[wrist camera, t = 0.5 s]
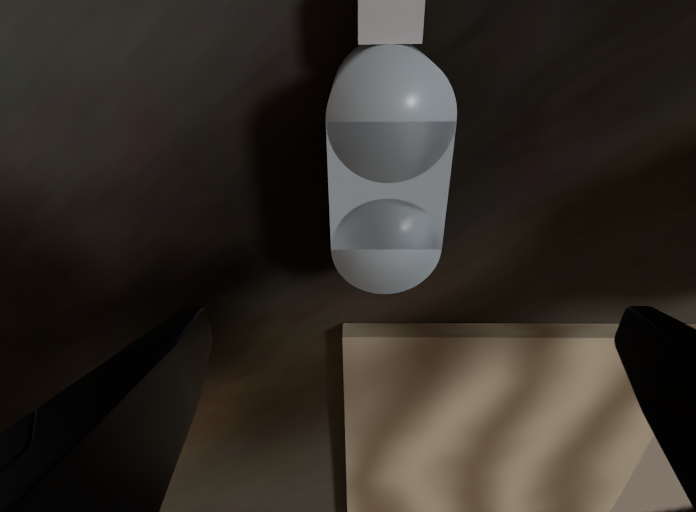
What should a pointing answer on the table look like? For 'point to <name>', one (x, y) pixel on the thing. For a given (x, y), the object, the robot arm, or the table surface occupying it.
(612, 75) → the table surface
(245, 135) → the table surface
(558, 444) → the birch board
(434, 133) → the usb stick
